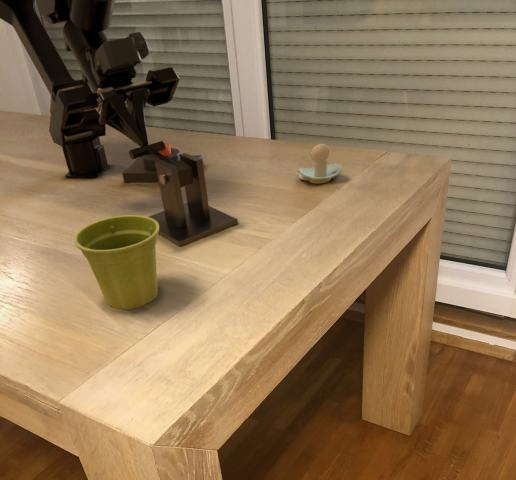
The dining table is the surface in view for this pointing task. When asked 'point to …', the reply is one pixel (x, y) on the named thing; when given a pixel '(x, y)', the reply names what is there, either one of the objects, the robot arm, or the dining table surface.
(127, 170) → the block
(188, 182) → the dark t-shaped lever
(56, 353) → the dining table surface
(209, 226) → the dark brown stand
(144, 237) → the plant pot
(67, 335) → the dining table surface
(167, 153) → the button
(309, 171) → the pacifier
